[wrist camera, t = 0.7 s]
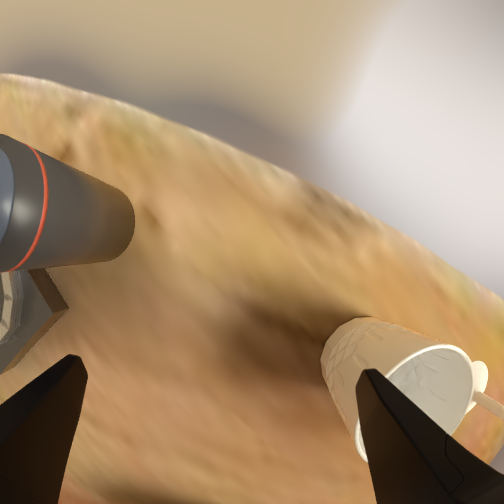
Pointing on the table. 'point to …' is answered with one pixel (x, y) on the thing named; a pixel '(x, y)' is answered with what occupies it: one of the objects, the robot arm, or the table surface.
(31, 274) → the camera body
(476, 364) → the champagne flute
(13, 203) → the lens
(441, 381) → the white cup
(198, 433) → the table surface
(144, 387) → the table surface
